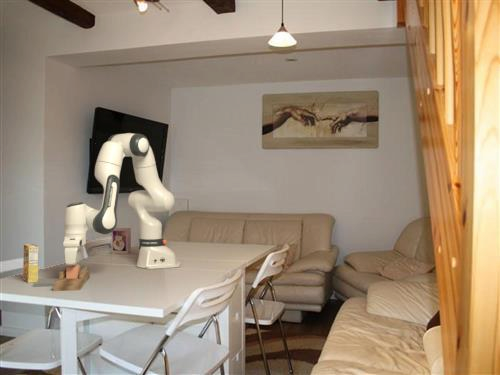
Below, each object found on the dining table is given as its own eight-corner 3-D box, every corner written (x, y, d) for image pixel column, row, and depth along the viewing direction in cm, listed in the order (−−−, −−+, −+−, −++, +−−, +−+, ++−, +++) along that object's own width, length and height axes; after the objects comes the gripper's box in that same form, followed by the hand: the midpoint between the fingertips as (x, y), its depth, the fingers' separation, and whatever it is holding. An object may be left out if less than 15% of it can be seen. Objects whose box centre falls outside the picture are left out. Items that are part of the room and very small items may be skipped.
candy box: (22, 279, 186) (22, 244, 186) (33, 278, 189) (33, 243, 189) (28, 283, 179) (28, 246, 179) (38, 281, 182) (39, 245, 182)
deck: (90, 277, 193) (90, 264, 193) (80, 289, 169) (80, 275, 169) (66, 277, 191) (66, 265, 191) (53, 290, 167) (53, 276, 167)
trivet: (61, 281, 184) (61, 278, 184) (56, 285, 176) (56, 282, 176) (39, 281, 182) (39, 278, 182) (33, 286, 174) (33, 283, 174)
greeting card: (110, 252, 262) (110, 228, 262) (117, 251, 269) (118, 227, 269) (126, 253, 259) (127, 229, 259) (133, 252, 266) (133, 228, 266)
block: (79, 276, 183) (79, 265, 183) (77, 278, 179) (77, 267, 179) (68, 276, 182) (68, 265, 182) (66, 278, 178) (66, 267, 178)
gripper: (72, 237, 194) (72, 267, 194) (62, 243, 174) (61, 277, 174) (87, 237, 196) (86, 267, 196) (78, 243, 176) (77, 276, 176)
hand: (74, 272), depth 185 cm, fingers closed
